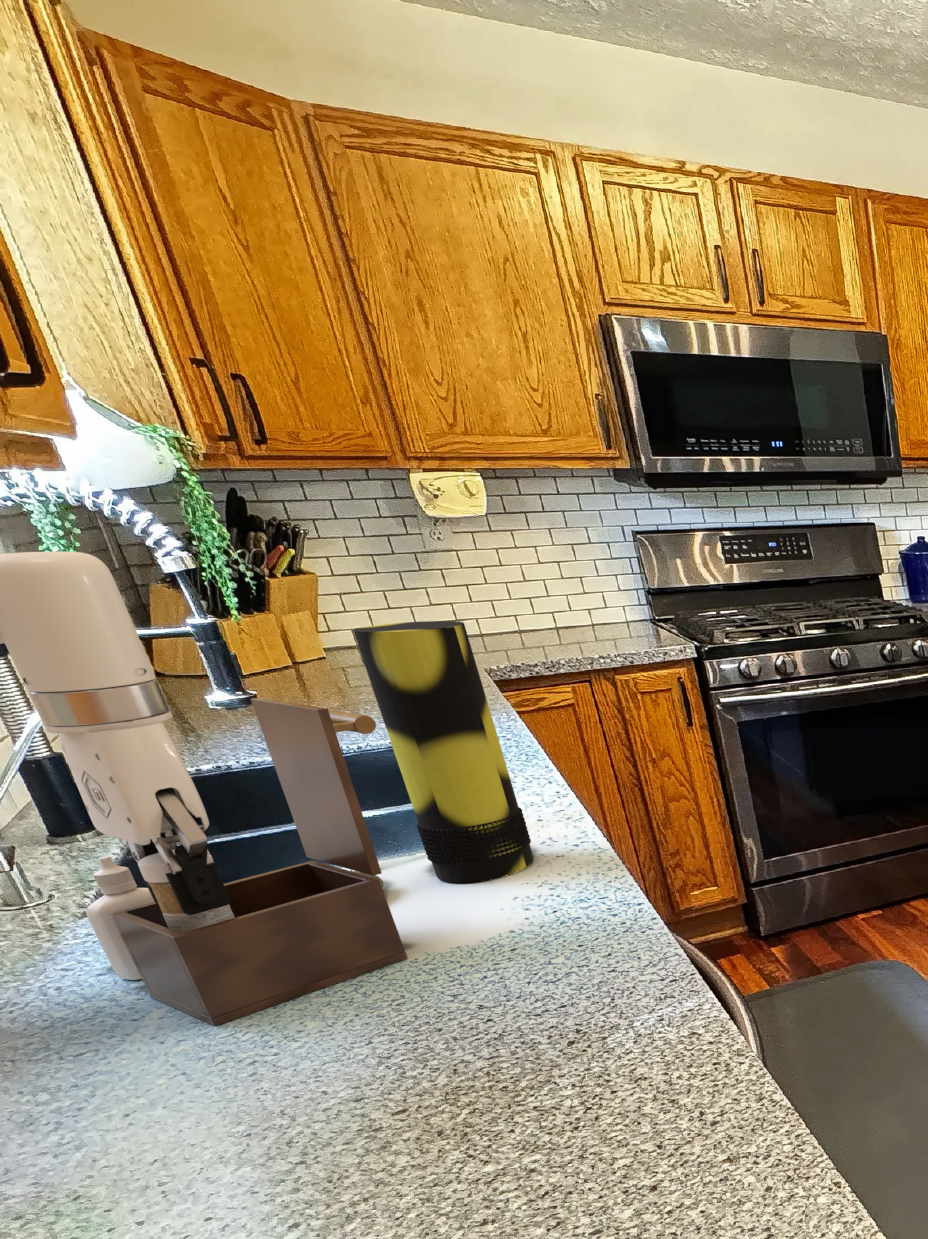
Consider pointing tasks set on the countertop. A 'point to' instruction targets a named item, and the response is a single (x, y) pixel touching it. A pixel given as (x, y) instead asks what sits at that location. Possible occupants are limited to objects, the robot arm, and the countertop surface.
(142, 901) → the eye dropper bottle
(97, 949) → the countertop surface
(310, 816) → the walnut panel
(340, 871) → the walnut box
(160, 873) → the spice jar
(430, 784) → the container
